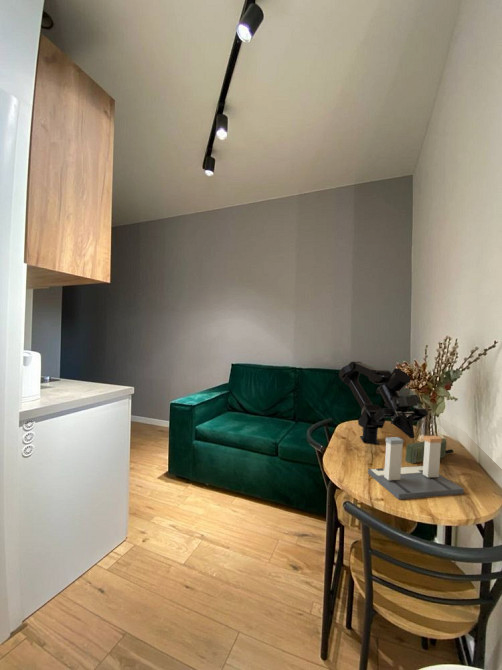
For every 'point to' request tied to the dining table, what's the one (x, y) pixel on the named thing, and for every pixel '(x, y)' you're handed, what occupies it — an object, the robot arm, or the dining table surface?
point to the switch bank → (415, 484)
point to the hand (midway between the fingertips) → (412, 437)
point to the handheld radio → (422, 451)
